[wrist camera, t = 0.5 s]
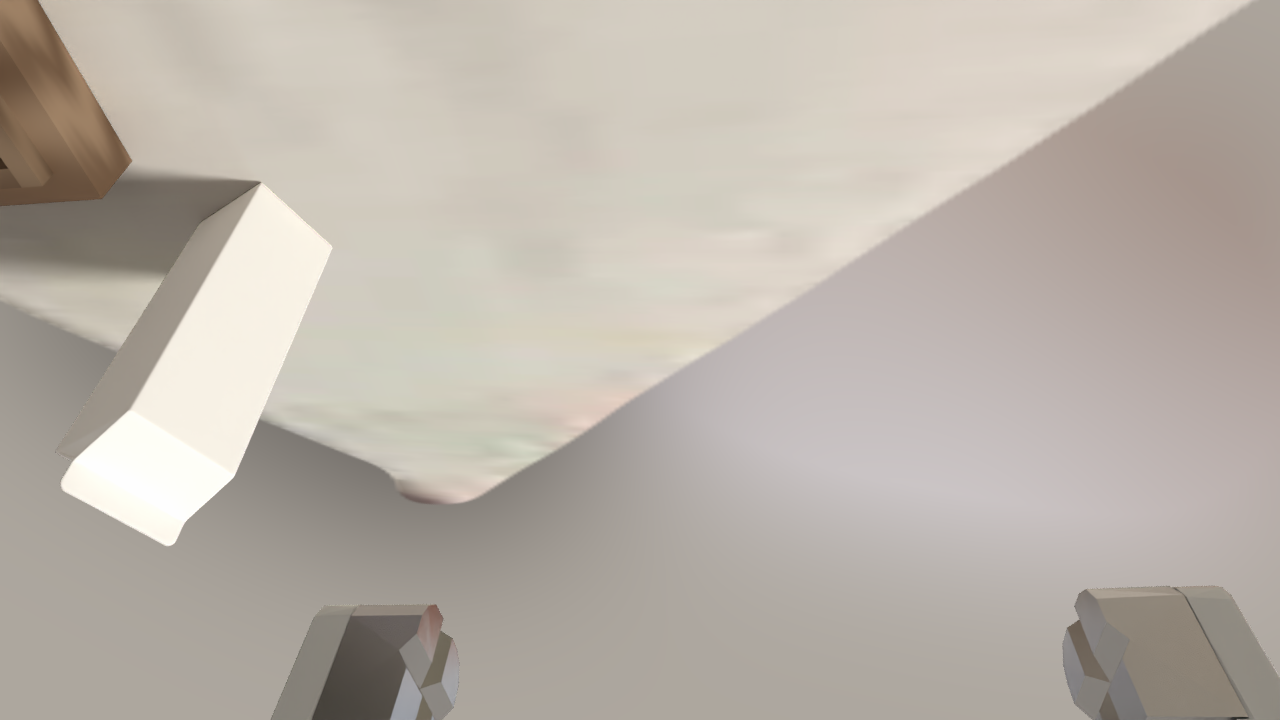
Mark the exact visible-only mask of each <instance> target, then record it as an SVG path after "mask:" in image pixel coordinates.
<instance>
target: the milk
mask: <svg viewBox="0 0 1280 720" xmlns="http://www.w3.org/2000/svg"><path fill="white" fill-rule="evenodd" d="M331 250H332V246H331V245H330V244H329V243H328V242H327V241H326V240H325V239H324V238H323V237H321V236H320V235H319V234H318V233H317V232H316V231H315V230H314V229H313V228H312V227H310V226H309V225H308V224H307V223H306V222H305V221H304V220H303V219H302V218H300V217H299V216H298V215H297V214H296V213H295V212H294V211H293V210H292V209H291V208H289V207H288V206H287V205H286V204H285V203H284V202H283V201H282V200H281V199H280V198H278V197H277V196H276V195H275V194H274V193H273V192H272V191H271V190H270V189H269V188H267V187H266V186H265V185H264V184H263V183H259V184H258V185H256V186H255V187H253V188H252V189H250V190H249V191H247V192H246V193H244V194H243V195H241V196H240V197H238V198H237V199H235V200H234V201H232V202H231V203H229V204H228V205H226V206H225V207H223V208H222V209H220V210H219V211H217V212H216V213H214V214H213V215H211V216H210V217H208V218H207V219H205V220H204V221H202V222H201V223H200V224H199V225H198V227H197V228H196V230H195V231H194V233H193V235H192V236H191V238H190V239H189V241H188V242H187V244H186V246H185V247H184V249H183V250H182V252H181V254H180V255H179V257H178V258H177V260H176V261H175V263H174V265H173V266H172V268H171V269H170V271H169V272H168V274H167V276H166V277H165V279H164V280H163V282H162V283H161V285H160V287H159V288H158V290H157V291H156V293H155V295H154V296H153V298H152V299H151V301H150V302H149V304H148V306H147V307H146V309H145V310H144V312H143V313H142V315H141V317H140V318H139V320H138V321H137V323H136V325H135V326H134V328H133V329H132V331H131V332H130V334H129V336H128V337H127V339H126V340H125V342H124V343H123V345H122V347H121V348H120V350H119V351H118V353H117V355H116V356H115V358H114V359H113V361H112V363H111V364H110V366H109V367H108V369H107V370H106V372H105V374H104V375H103V377H102V378H101V380H100V381H99V383H98V385H97V386H96V388H95V389H94V391H93V392H92V394H91V396H90V397H89V399H88V400H87V402H86V403H85V405H84V407H83V408H82V410H81V412H80V413H79V415H78V416H77V418H76V419H75V421H74V422H73V424H72V426H71V427H70V429H69V430H68V432H67V434H66V435H65V437H64V438H63V440H62V442H61V443H60V445H59V446H58V448H57V449H56V451H55V453H57V454H58V455H60V456H62V457H64V458H66V459H67V460H69V461H71V464H70V465H69V467H68V469H67V470H66V472H65V474H64V475H63V477H62V479H61V481H60V487H61V488H62V490H63V491H65V492H66V493H68V494H70V495H72V496H74V497H76V498H77V499H79V500H81V501H83V502H85V503H87V504H89V505H91V506H93V507H94V508H96V509H98V510H100V511H102V512H104V513H105V514H107V515H109V516H111V517H113V518H115V519H117V520H119V521H120V522H122V523H124V524H126V525H128V526H130V527H132V528H133V529H135V530H137V531H139V532H141V533H143V534H145V535H146V536H148V537H150V538H152V539H154V540H156V541H158V542H160V543H162V544H163V545H165V546H170V545H172V544H174V543H175V542H176V540H177V537H178V535H179V533H180V531H181V529H182V527H183V524H184V523H185V521H186V520H187V519H188V518H190V517H191V516H192V515H193V514H194V513H195V512H196V511H197V510H198V509H200V508H201V507H202V506H203V505H204V504H205V503H206V502H207V501H208V500H209V499H211V497H213V496H214V495H215V494H216V493H217V492H218V491H219V490H220V489H222V487H223V486H225V485H226V484H227V483H228V482H229V481H230V480H231V479H232V478H233V477H234V476H235V473H236V471H237V469H238V466H239V464H240V462H241V459H242V457H243V455H244V452H245V450H246V448H247V445H248V443H249V441H250V439H251V436H252V434H253V432H254V429H255V427H256V425H257V422H258V420H259V418H260V415H261V413H262V411H263V408H264V406H265V404H266V401H267V399H268V397H269V394H270V392H271V390H272V387H273V385H274V383H275V380H276V378H277V376H278V373H279V371H280V369H281V366H282V364H283V362H284V359H285V357H286V355H287V352H288V350H289V348H290V346H291V343H292V341H293V339H294V336H295V334H296V332H297V329H298V327H299V325H300V322H301V320H302V318H303V315H304V313H305V311H306V308H307V306H308V304H309V301H310V299H311V297H312V294H313V292H314V290H315V287H316V285H317V283H318V280H319V278H320V276H321V273H322V271H323V269H324V266H325V264H326V262H327V260H328V257H329V255H330V253H331Z"/></svg>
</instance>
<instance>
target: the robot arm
mask: <svg viewBox="0 0 1280 720" xmlns="http://www.w3.org/2000/svg"><path fill="white" fill-rule="evenodd" d="M1074 607H1075V609H1076V612H1077V614H1078V616H1079V619H1080V620H1078V621H1077V622H1075V623H1074V624H1072V625H1071V626H1069V627H1068V628H1067V630H1066V634H1065V638H1064V641H1063V666H1064V670H1065V675H1066V679H1067V683H1068V687H1069V689H1070V692H1071V695H1072V698H1073V701H1074V704H1075V705H1076V706H1078V707H1079V708H1080V709H1081V710H1082V711H1083V712H1084V713H1085V714H1087V715H1088V716H1089V717H1090V718H1091V719H1092V720H1280V677H1279V675H1278V673H1277V672H1276V670H1275V668H1274V667H1273V665H1272V663H1271V661H1270V660H1269V658H1268V656H1267V655H1266V653H1265V651H1264V650H1263V648H1262V646H1261V645H1260V643H1259V641H1258V639H1257V638H1256V636H1255V634H1254V633H1253V631H1252V629H1251V628H1250V626H1249V624H1248V623H1247V621H1246V619H1245V617H1244V616H1243V614H1242V612H1241V611H1240V609H1239V607H1238V606H1237V604H1236V602H1235V601H1234V599H1233V597H1232V595H1231V594H1229V593H1228V592H1227V591H1226V590H1224V589H1223V588H1222V587H1218V586H1193V587H1170V586H1158V587H1157V586H1156V587H1131V588H1130V587H1129V588H1106V589H1105V588H1103V589H1086V590H1084V591H1082V592H1081V593H1079V595H1078V598H1077V601H1076V603H1075V606H1074ZM442 622H443V617H442V615H441V613H440V611H439V609H438V607H437V605H436V604H417V605H325V606H323V607H322V608H321V610H320V611H319V612H318V613H317V614H316V616H315V617H314V619H313V620H312V623H311V625H310V628H309V630H308V633H307V635H306V637H305V640H304V642H303V644H302V647H301V649H300V651H299V654H298V656H297V658H296V661H295V663H294V665H293V668H292V670H291V673H290V675H289V677H288V680H287V682H286V685H285V687H284V690H283V692H282V694H281V697H280V699H279V701H278V704H277V706H276V708H275V710H274V713H273V715H272V718H271V720H442V719H443V718H444V717H445V716H446V715H447V714H448V713H449V712H450V711H451V710H452V709H453V708H454V703H455V698H456V694H457V690H458V683H459V658H458V652H457V648H456V645H455V643H454V641H453V638H451V637H450V636H448V635H447V634H445V633H444V632H442V631H440V630H441V626H442Z"/></svg>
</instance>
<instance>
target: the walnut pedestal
mask: <svg viewBox="0 0 1280 720" xmlns="http://www.w3.org/2000/svg"><path fill="white" fill-rule="evenodd" d="M131 162H132V160H131V158H130V157H129V155H128V153H127V152H126V150H125V148H124V146H123V145H122V143H121V141H120V140H119V138H118V136H117V135H116V133H115V131H114V129H113V128H112V126H111V124H110V123H109V121H108V119H107V117H106V116H105V114H104V112H103V111H102V109H101V107H100V106H99V104H98V102H97V100H96V99H95V97H94V95H93V94H92V92H91V90H90V89H89V87H88V85H87V83H86V82H85V80H84V78H83V77H82V75H81V73H80V72H79V70H78V68H77V66H76V65H75V63H74V61H73V60H72V58H71V56H70V55H69V53H68V51H67V49H66V48H65V46H64V44H63V43H62V41H61V39H60V38H59V36H58V34H57V32H56V31H55V29H54V27H53V26H52V24H51V22H50V21H49V19H48V17H47V15H46V14H45V12H44V10H43V9H42V7H41V5H40V4H39V2H38V0H0V206H8V205H22V204H36V203H51V202H65V201H80V200H94V199H102V198H103V197H104V196H105V194H106V193H107V192H108V191H109V189H110V188H111V187H112V186H113V184H114V183H115V182H116V181H117V179H118V178H119V177H120V176H121V174H122V173H123V172H124V171H125V169H126V168H127V167H128V166H129V164H130V163H131Z"/></svg>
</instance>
